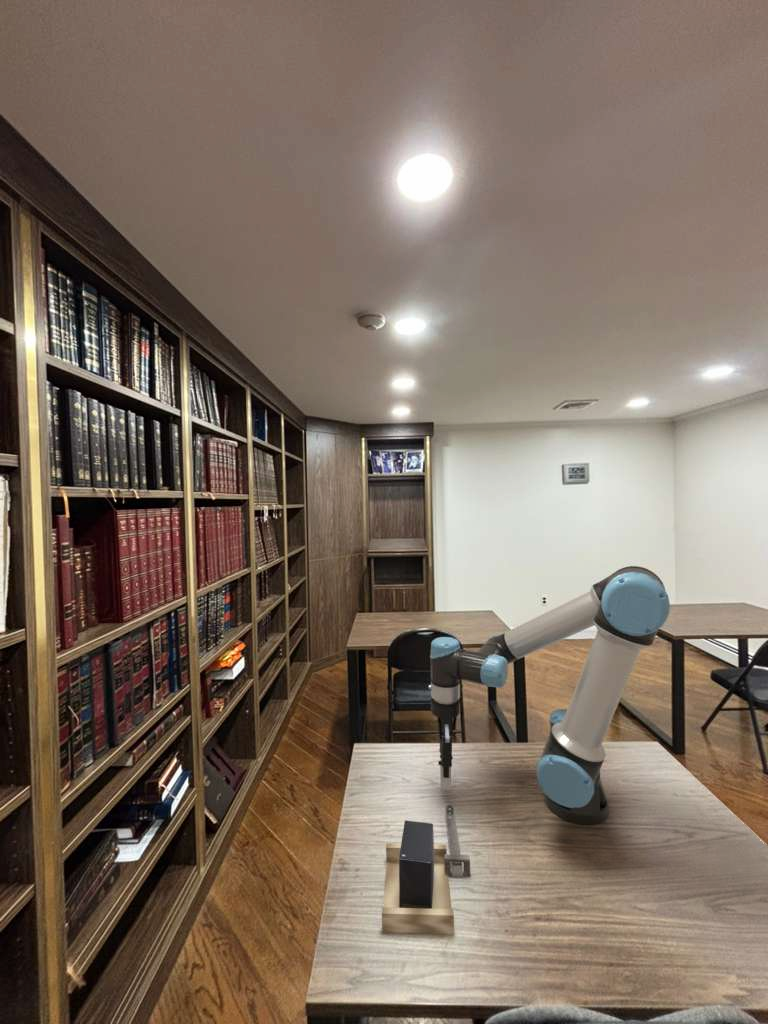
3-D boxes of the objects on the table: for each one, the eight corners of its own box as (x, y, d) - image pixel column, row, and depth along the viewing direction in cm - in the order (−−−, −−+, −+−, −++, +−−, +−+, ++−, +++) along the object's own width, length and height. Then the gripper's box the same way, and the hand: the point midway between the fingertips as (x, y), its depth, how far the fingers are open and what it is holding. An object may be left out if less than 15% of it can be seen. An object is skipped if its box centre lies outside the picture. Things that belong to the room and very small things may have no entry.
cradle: (467, 860, 95) (467, 844, 95) (479, 935, 79) (479, 915, 79) (386, 859, 96) (386, 842, 96) (382, 932, 80) (381, 912, 80)
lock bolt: (453, 815, 109) (453, 802, 109) (462, 877, 91) (462, 861, 91) (445, 815, 109) (445, 801, 109) (452, 876, 91) (452, 860, 91)
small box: (433, 918, 82) (432, 862, 82) (398, 913, 83) (397, 859, 83) (435, 871, 92) (434, 821, 92) (404, 867, 93) (403, 819, 93)
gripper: (429, 687, 122) (430, 770, 122) (432, 709, 109) (432, 802, 109) (456, 687, 121) (457, 771, 122) (462, 710, 108) (463, 803, 109)
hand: (445, 786), depth 116 cm, fingers closed
